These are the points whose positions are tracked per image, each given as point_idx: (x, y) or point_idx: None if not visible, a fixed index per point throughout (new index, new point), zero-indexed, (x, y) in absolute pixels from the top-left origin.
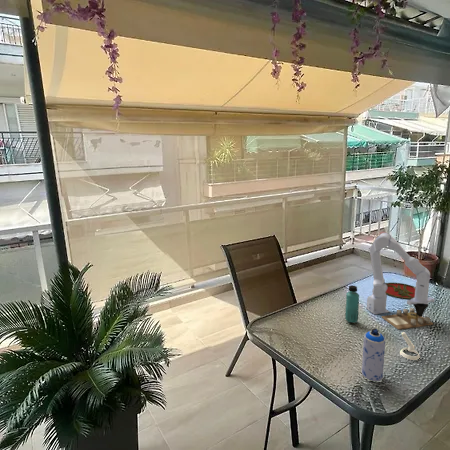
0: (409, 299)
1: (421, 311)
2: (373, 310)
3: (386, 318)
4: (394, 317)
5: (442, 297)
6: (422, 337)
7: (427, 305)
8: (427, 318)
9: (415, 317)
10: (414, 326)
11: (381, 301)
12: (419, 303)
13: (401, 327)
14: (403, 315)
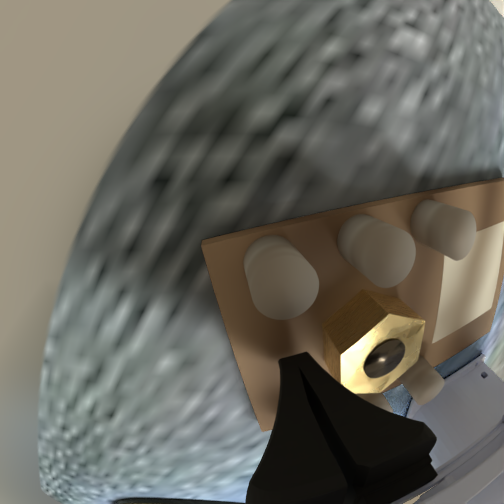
0: (193, 500)
1: (329, 396)
2: (490, 369)
3: (492, 307)
4: (456, 329)
5: (48, 476)
6: (430, 43)
7: (286, 499)
8: (298, 271)
9: (392, 311)
10: (427, 193)
11: (495, 421)
12: (400, 492)
13: (499, 186)
14: None
